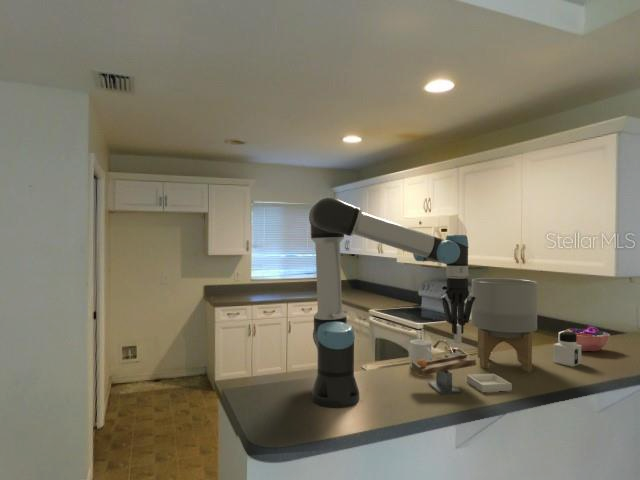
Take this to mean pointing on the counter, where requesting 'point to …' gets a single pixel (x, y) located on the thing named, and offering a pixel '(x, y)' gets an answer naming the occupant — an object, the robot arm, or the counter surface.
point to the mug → (420, 351)
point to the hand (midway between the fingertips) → (457, 342)
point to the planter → (505, 316)
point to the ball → (422, 363)
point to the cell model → (590, 338)
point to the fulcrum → (444, 383)
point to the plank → (444, 364)
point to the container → (567, 349)
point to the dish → (489, 383)
